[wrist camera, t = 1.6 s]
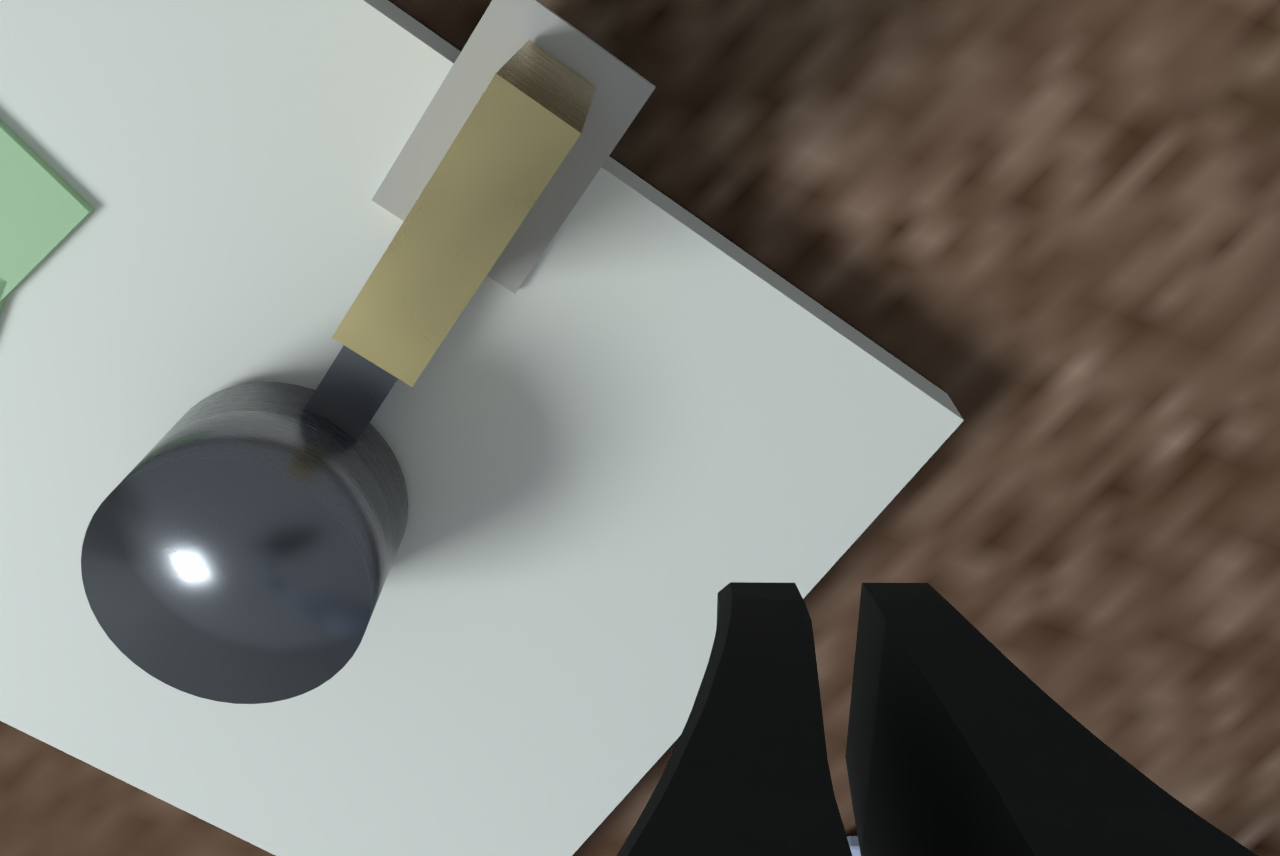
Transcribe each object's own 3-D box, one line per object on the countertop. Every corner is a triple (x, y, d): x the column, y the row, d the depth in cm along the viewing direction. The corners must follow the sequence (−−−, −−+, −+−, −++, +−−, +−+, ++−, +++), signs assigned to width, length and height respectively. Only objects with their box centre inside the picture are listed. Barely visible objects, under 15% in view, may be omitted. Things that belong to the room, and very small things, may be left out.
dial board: (1002, 331, 20) (1026, 358, 19) (488, 912, 26) (480, 963, 25) (23, -386, 16) (-31, -413, 15) (-324, 506, 22) (-384, 542, 21)
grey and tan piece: (334, 640, 21) (268, 790, 18) (118, 523, 20) (1, 655, 17) (681, 148, 17) (689, 210, 14) (437, -28, 16) (375, -11, 13)
